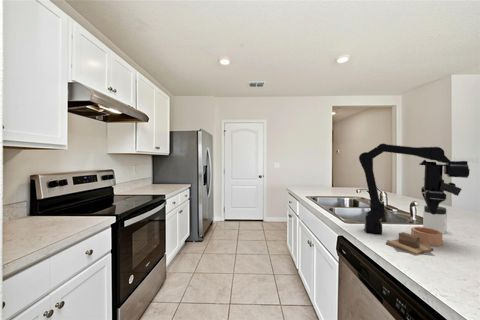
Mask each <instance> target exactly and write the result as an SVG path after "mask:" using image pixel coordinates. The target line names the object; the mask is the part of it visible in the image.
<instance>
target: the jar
mask: <svg viewBox="0 0 480 320" xmlns="http://www.w3.org/2000/svg"><path fill="white" fill-rule="evenodd" d="M423 208H424V209H423V214H422V215H423V216H422V217H423V220H422V221H423V222H422V224H423V225H422V226H423V227H425V228H430V229H434V230H438V231H440V232H442V233H443V235H444V234H446V233H447V232H448V231H447V230H448V224H447V223H448V213H447V208H446V207H443V206H438V208H437V211H436V214H435V215H433V214H431V212H430V210H429V209H428V207H427V205H424V206H423Z"/></svg>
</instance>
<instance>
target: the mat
mask: <svg viewBox="0 0 480 320" xmlns="http://www.w3.org/2000/svg"><path fill="white" fill-rule="evenodd" d="M388 241H391V240H388V239H386V242H388ZM392 248H393V249H394V251H396V252H397V253H405V254H409V253H408V252H405V251H402V250H400V249H397V248H394V247H392ZM420 255H421V256H432V257H436V255H435V254H433V253H432V251H430V252H427V253H423V254H420Z"/></svg>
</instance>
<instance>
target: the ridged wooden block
mask: <svg viewBox="0 0 480 320" xmlns="http://www.w3.org/2000/svg"><path fill="white" fill-rule="evenodd" d="M385 245H388V247H392V248H393V247H394V248H397V249H400V250H402V251H405V252H408V253H407V254H411V255H412V256H413V255H414V256H420V255H421V254H423V253H427V252H434V247H432V246H429V245H425V244H421V243H420V237H417V236H414V235H411V233H407V232H404V231H403V232H399V233H398V239H394V240H390V241H385ZM394 248H393V249H394Z"/></svg>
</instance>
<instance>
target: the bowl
mask: <svg viewBox="0 0 480 320" xmlns="http://www.w3.org/2000/svg"><path fill="white" fill-rule="evenodd" d="M410 228H411V229H410V231H411V232H410V234H411V235H414V236H417V237H420V244H422V245H425V246H429V247H441V246H442V245H443V237H444V234H443V233H442V232H440V231H438V230H434V229H430V228H425V227H422V226H413V227H410Z"/></svg>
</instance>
